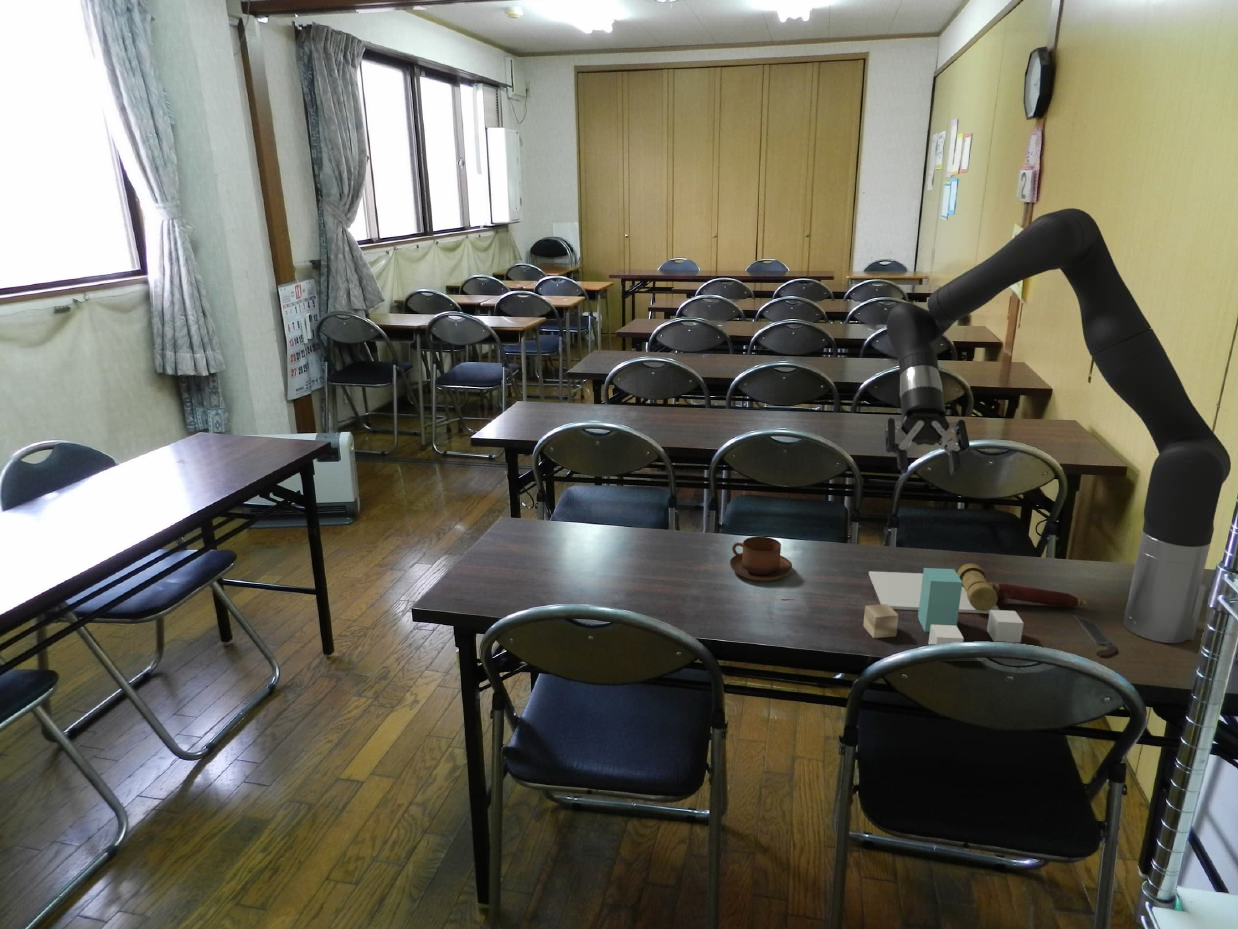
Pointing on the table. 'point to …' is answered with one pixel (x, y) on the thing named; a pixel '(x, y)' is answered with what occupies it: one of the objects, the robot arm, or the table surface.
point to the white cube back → (944, 634)
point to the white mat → (909, 591)
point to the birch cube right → (880, 620)
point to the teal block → (939, 597)
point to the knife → (1097, 637)
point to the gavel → (1007, 591)
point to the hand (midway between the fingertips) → (929, 472)
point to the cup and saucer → (760, 559)
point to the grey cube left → (1005, 626)
